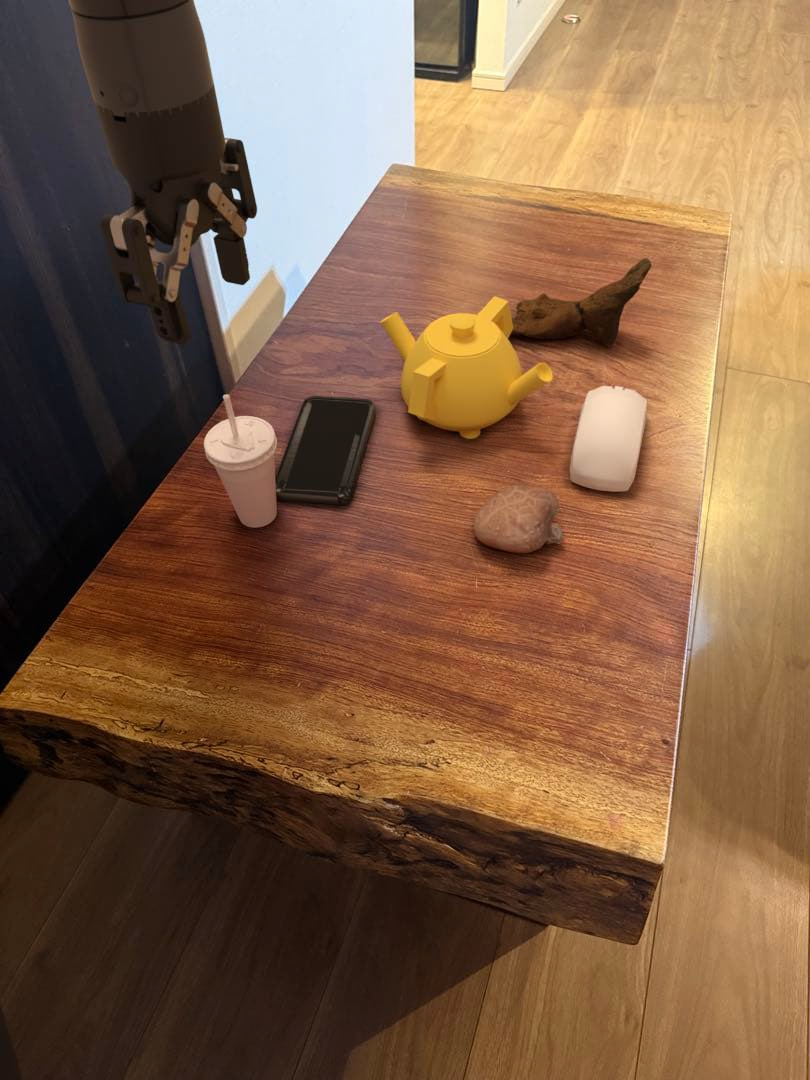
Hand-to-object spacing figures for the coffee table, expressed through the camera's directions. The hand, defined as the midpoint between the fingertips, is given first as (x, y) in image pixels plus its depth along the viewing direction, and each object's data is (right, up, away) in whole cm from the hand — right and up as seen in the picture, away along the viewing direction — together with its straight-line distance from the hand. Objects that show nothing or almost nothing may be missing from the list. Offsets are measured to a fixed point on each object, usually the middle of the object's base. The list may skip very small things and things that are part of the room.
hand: (208, 309), depth 64 cm
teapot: (+21, -4, +26) cm, 34 cm away
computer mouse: (+36, -9, +21) cm, 42 cm away
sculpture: (+34, +6, +34) cm, 49 cm away
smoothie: (+1, -15, +17) cm, 23 cm away
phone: (+7, -9, +23) cm, 25 cm away
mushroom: (+26, -17, +14) cm, 34 cm away
